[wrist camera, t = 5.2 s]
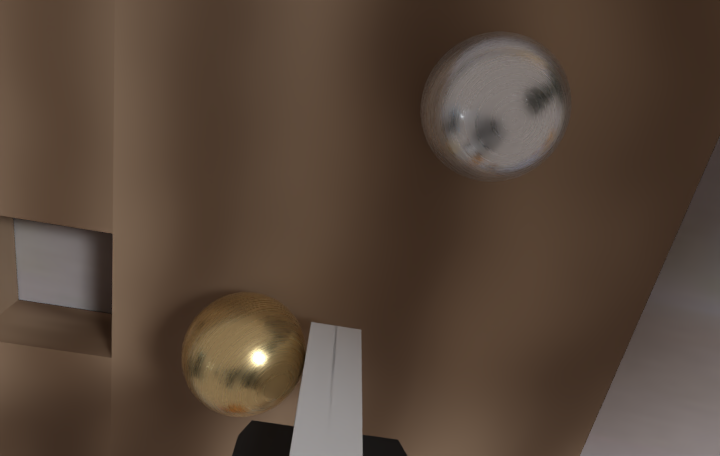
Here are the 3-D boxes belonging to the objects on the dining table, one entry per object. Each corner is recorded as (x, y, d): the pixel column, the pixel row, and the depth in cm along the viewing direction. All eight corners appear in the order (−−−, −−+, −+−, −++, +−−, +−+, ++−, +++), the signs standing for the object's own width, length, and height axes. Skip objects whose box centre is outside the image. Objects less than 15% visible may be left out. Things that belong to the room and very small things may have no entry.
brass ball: (319, 417, 15) (260, 353, 18) (339, 317, 14) (272, 263, 16) (210, 464, 13) (159, 384, 15) (221, 351, 12) (164, 282, 14)
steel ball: (401, 151, 14) (414, 185, 11) (429, 19, 13) (454, 14, 10) (519, 172, 15) (567, 212, 11) (558, 45, 13) (624, 49, 10)
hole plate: (-83, 478, 22) (-135, 531, 19) (-198, -195, 13) (-314, -243, 11) (497, 550, 24) (513, 607, 21) (716, -1, 15) (781, -7, 13)
